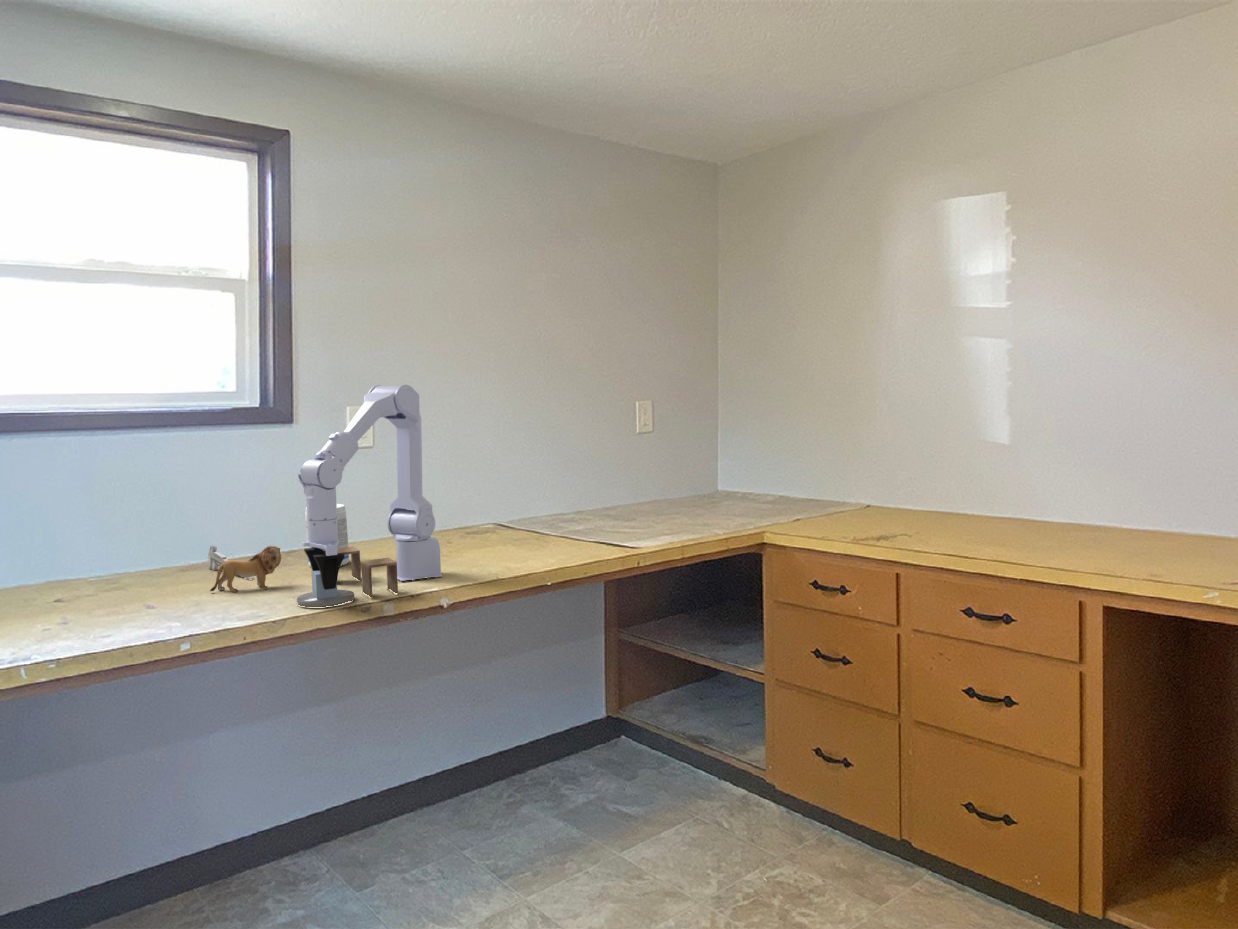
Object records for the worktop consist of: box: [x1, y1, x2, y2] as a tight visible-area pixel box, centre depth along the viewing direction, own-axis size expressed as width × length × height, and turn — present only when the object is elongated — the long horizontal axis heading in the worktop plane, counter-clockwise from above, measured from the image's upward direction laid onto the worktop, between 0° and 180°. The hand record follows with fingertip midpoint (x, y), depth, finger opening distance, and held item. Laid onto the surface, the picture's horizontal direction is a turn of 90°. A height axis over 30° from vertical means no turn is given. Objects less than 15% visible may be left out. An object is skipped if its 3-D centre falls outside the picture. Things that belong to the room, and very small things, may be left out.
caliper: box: [207, 544, 255, 580], centre depth 200 cm, size 20×1×6 cm, turn 51°
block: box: [311, 570, 338, 599], centre depth 172 cm, size 4×4×5 cm
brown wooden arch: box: [337, 546, 362, 581], centre depth 191 cm, size 6×6×7 cm
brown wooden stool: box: [360, 557, 399, 597], centre depth 177 cm, size 6×6×7 cm
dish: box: [296, 589, 355, 607], centre depth 172 cm, size 11×11×1 cm
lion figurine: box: [209, 545, 282, 593], centre depth 184 cm, size 15×5×9 cm, turn 122°
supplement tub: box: [304, 503, 350, 568], centre depth 208 cm, size 10×10×15 cm
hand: (325, 585), depth 172 cm, fingers open, 7 cm apart
